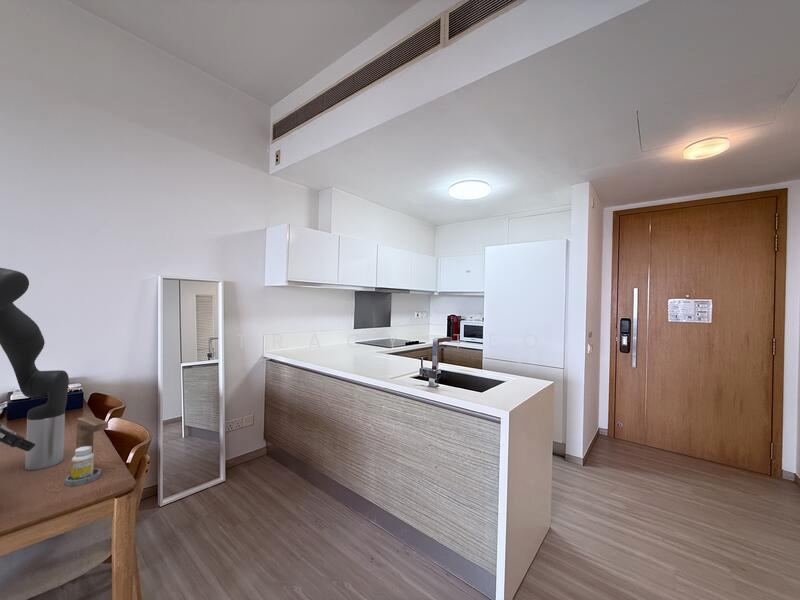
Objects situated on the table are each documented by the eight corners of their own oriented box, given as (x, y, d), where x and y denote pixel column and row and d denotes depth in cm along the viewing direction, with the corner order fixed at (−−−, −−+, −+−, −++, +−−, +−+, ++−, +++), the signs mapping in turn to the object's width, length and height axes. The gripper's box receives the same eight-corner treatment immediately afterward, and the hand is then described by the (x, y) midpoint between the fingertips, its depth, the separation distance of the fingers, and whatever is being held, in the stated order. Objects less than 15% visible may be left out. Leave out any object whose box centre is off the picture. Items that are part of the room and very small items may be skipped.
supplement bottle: (85, 481, 105) (86, 451, 106) (66, 482, 104) (67, 452, 104) (97, 472, 111) (98, 444, 111) (79, 474, 110) (80, 445, 110)
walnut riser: (92, 480, 107) (94, 425, 107) (75, 470, 113) (77, 418, 113) (106, 475, 110) (108, 422, 110) (88, 466, 116) (90, 415, 116)
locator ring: (69, 476, 109) (69, 472, 109) (102, 470, 113) (103, 465, 113) (61, 488, 102) (61, 484, 102) (97, 481, 106) (97, 476, 106)
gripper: (-12, 410, 85) (49, 437, 96) (-28, 400, 92) (30, 427, 102) (-46, 437, 81) (21, 463, 91) (-61, 425, 87) (4, 451, 97)
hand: (26, 444), depth 97 cm, fingers open, 8 cm apart
